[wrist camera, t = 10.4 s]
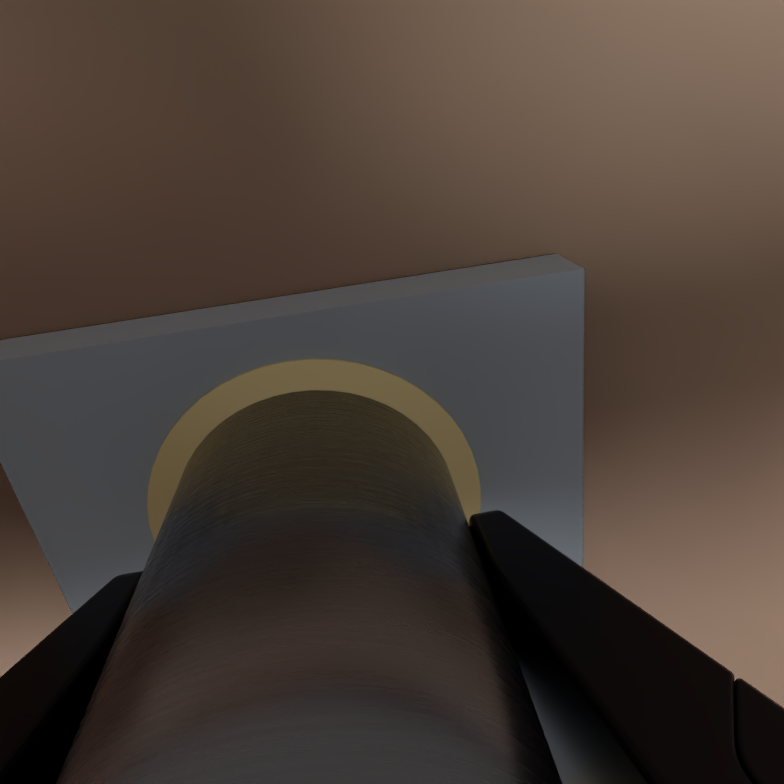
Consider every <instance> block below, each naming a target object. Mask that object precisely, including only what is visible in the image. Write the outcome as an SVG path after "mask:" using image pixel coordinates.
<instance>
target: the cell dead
mask: <svg viewBox="0 0 784 784" xmlns="http://www.w3.org/2000/svg"><path fill="white" fill-rule="evenodd" d="M56 784H562V781H561V778H560V775H559V773H558V770H557V767H556V764H555V762H554V759H553V756H552V753H551V751H550V748H549V745H548V742H547V740H546V737H545V734H544V731H543V729H542V726H541V723H540V720H539V718H538V715H537V712H536V709H535V706H534V704H533V701H532V698H531V695H530V693H529V690H528V687H527V684H526V682H525V679H524V676H523V673H522V671H521V668H520V665H519V662H518V660H517V657H516V654H515V651H514V648H513V646H512V643H511V640H510V637H509V635H508V632H507V629H506V626H505V624H504V621H503V618H502V615H501V613H500V610H499V607H498V604H497V602H496V599H495V596H494V593H493V591H492V588H491V585H490V582H489V579H488V577H487V574H486V571H485V568H484V566H483V563H482V560H481V557H480V555H479V552H478V549H477V546H476V544H475V541H474V538H473V535H472V533H471V530H470V527H469V524H468V521H467V519H466V516H465V513H464V510H463V508H462V505H461V502H460V499H459V497H458V494H457V491H456V488H455V486H454V483H453V480H452V477H451V475H450V472H449V469H448V466H447V464H446V462H445V460H444V458H443V456H442V454H441V452H440V450H439V449H438V448H437V446H436V445H435V444H434V442H433V441H432V440H431V438H430V437H429V436H428V435H427V434H426V433H425V432H424V431H423V430H422V429H421V428H420V427H419V426H418V425H417V424H416V423H414V422H413V421H412V420H410V419H409V418H408V417H406V416H405V415H404V414H402V413H400V412H399V411H397V410H395V409H393V408H391V407H390V406H388V405H386V404H383V403H381V402H378V401H376V400H373V399H371V398H367V397H364V396H360V395H356V394H352V393H346V392H339V391H330V390H309V391H299V392H290V393H286V394H282V395H277V396H273V397H270V398H267V399H264V400H261V401H258V402H256V403H253V404H251V405H249V406H247V407H245V408H243V409H241V410H239V411H237V412H236V413H234V414H233V415H231V416H230V417H228V418H227V419H225V420H224V421H222V422H221V423H220V424H219V425H218V426H217V427H215V428H214V429H213V430H212V431H211V432H210V433H209V434H208V435H207V436H206V437H205V438H204V439H203V441H202V442H201V443H200V444H199V445H198V447H197V448H196V449H195V451H194V453H193V454H192V456H191V458H190V459H189V461H188V463H187V465H186V467H185V470H184V472H183V475H182V477H181V480H180V482H179V484H178V487H177V489H176V492H175V494H174V497H173V499H172V501H171V504H170V506H169V509H168V511H167V514H166V516H165V519H164V521H163V523H162V526H161V528H160V531H159V533H158V536H157V538H156V540H155V543H154V545H153V548H152V550H151V553H150V555H149V558H148V560H147V562H146V565H145V567H144V570H143V572H142V575H141V577H140V579H139V582H138V584H137V587H136V589H135V592H134V594H133V597H132V599H131V601H130V604H129V606H128V609H127V611H126V614H125V616H124V618H123V621H122V623H121V626H120V628H119V631H118V633H117V635H116V638H115V640H114V643H113V645H112V648H111V650H110V653H109V655H108V657H107V660H106V662H105V665H104V667H103V670H102V672H101V674H100V677H99V679H98V682H97V684H96V687H95V689H94V692H93V694H92V696H91V699H90V701H89V704H88V706H87V709H86V711H85V713H84V716H83V718H82V721H81V723H80V726H79V728H78V731H77V733H76V735H75V738H74V740H73V743H72V745H71V748H70V750H69V752H68V755H67V757H66V760H65V762H64V765H63V767H62V770H61V772H60V774H59V777H58V779H57V782H56Z"/></svg>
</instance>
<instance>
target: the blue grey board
mask: <svg viewBox="0 0 784 784" xmlns="http://www.w3.org/2000/svg"><path fill="white" fill-rule="evenodd" d="M584 281H585V269H584V268H582V267H581V266H579V265H577V264H575V263H573V262H571V261H570V260H568V259H566V258H564V257H562V256H560V255H558V254H551V255H545V256H539V257H532V258H526V259H519V260H513V261H506V262H500V263H493V264H487V265H481V266H474V267H468V268H461V269H455V270H448V271H442V272H435V273H429V274H423V275H416V276H410V277H403V278H397V279H390V280H384V281H377V282H371V283H365V284H358V285H352V286H345V287H339V288H332V289H326V290H319V291H313V292H307V293H300V294H294V295H287V296H281V297H274V298H268V299H261V300H255V301H249V302H242V303H236V304H229V305H223V306H216V307H210V308H204V309H197V310H191V311H184V312H178V313H171V314H165V315H158V316H152V317H146V318H139V319H133V320H126V321H120V322H113V323H107V324H100V325H94V326H88V327H81V328H75V329H68V330H62V331H55V332H49V333H42V334H36V335H30V336H23V337H17V338H10V339H4V340H0V463H1V465H2V467H3V469H4V471H5V473H6V475H7V477H8V479H9V482H10V484H11V486H12V488H13V490H14V492H15V494H16V496H17V498H18V500H19V502H20V505H21V507H22V509H23V511H24V513H25V515H26V517H27V519H28V521H29V523H30V525H31V528H32V530H33V532H34V534H35V536H36V538H37V540H38V542H39V544H40V546H41V548H42V551H43V553H44V555H45V557H46V559H47V561H48V563H49V565H50V567H51V569H52V571H53V574H54V576H55V578H56V580H57V582H58V584H59V586H60V588H61V590H62V592H63V594H64V597H65V599H66V601H67V603H68V605H69V607H70V609H71V611H72V613H74V612H75V611H76V610H78V609H79V608H80V607H81V606H82V605H83V604H84V603H86V602H87V601H88V600H89V599H90V598H91V597H92V596H93V595H95V594H96V593H97V592H98V591H99V590H100V589H101V588H103V587H104V586H105V585H106V584H107V583H108V582H109V581H111V580H112V579H113V578H114V577H116V576H118V575H121V574H127V573H133V572H139V571H143V570H144V567H145V565H146V562H147V560H148V558H149V555H150V553H151V550H152V548H153V545H154V543H155V540H156V538H157V536H158V533H159V531H160V528H161V526H162V523H163V521H164V519H165V516H166V514H167V511H168V509H169V506H170V504H171V501H172V499H173V497H174V494H175V492H176V489H177V487H178V484H179V482H180V480H181V477H182V475H183V472H184V470H185V467H186V465H187V463H188V461H189V459H190V458H191V456H192V454H193V453H194V451H195V449H196V448H197V447H198V445H199V444H200V443H201V442H202V441H203V439H204V438H205V437H206V436H207V435H208V434H209V433H210V432H211V431H212V430H213V429H214V428H215V427H217V426H218V425H219V424H220V423H221V422H222V421H224V420H225V419H227V418H228V417H230V416H231V415H233V414H234V413H236V412H237V411H239V410H241V409H243V408H245V407H247V406H249V405H251V404H253V403H256V402H258V401H261V400H264V399H267V398H270V397H273V396H277V395H282V394H286V393H290V392H299V391H309V390H330V391H339V392H346V393H352V394H356V395H360V396H364V397H367V398H371V399H373V400H376V401H378V402H381V403H383V404H386V405H388V406H390V407H391V408H393V409H395V410H397V411H399V412H400V413H402V414H404V415H405V416H406V417H408V418H409V419H410V420H412V421H413V422H414V423H416V424H417V425H418V426H419V427H420V428H421V429H422V430H423V431H424V432H425V433H426V434H427V435H428V436H429V437H430V438H431V440H432V441H433V442H434V444H435V445H436V446H437V448H438V449H439V450H440V452H441V454H442V456H443V458H444V460H445V462H446V464H447V466H448V469H449V472H450V475H451V477H452V480H453V483H454V486H455V488H456V491H457V494H458V497H459V499H460V502H461V505H462V508H463V510H464V513H465V516H466V519H467V521H468V524H469V519H470V517H471V516H472V515H473V514H477V513H483V512H488V511H494V510H500V511H503V512H504V513H506V514H507V515H509V516H510V517H512V518H513V519H514V520H516V521H517V522H519V523H520V524H522V525H523V526H524V527H526V528H527V529H529V530H530V531H532V532H533V533H534V534H536V535H537V536H539V537H540V538H542V539H543V540H544V541H546V542H547V543H549V544H550V545H551V546H553V547H554V548H556V549H557V550H559V551H560V552H561V553H563V554H564V555H566V556H567V557H569V558H570V559H571V560H573V561H574V562H576V563H577V564H579V565H580V566H581V567H583V429H584Z"/></svg>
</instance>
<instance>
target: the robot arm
mask: <svg viewBox="0 0 784 784" xmlns="http://www.w3.org/2000/svg"><path fill="white" fill-rule="evenodd" d="M469 527H470V530H471V533H472V535H473V538H474V541H475V544H476V546H477V549H478V552H479V555H480V557H481V560H482V563H483V566H484V568H485V571H486V574H487V577H488V579H489V582H490V585H491V588H492V591H493V593H494V596H495V599H496V602H497V604H498V607H499V610H500V613H501V615H502V618H503V621H504V624H505V626H506V629H507V632H508V635H509V637H510V640H511V643H512V646H513V648H514V651H515V654H516V657H517V660H518V662H519V665H520V668H521V671H522V673H523V676H524V679H525V682H526V684H527V687H528V690H529V693H530V695H531V698H532V701H533V704H534V706H535V709H536V712H537V715H538V718H539V720H540V723H541V726H542V729H543V731H544V734H545V737H546V740H547V742H548V745H549V748H550V751H551V753H552V756H553V759H554V762H555V764H556V767H557V770H558V773H559V775H560V778H561V781H562V784H784V708H783V707H781V706H780V705H778V704H777V703H776V702H774V701H773V700H771V699H770V698H768V697H767V696H766V695H764V694H763V693H761V692H760V691H758V690H757V689H756V688H754V687H753V686H751V685H750V684H748V683H747V682H746V681H744V680H743V679H740V678H739V679H736V680H735V682H734V674H733V673H732V672H731V671H729V670H728V669H727V668H725V667H724V666H722V665H721V664H719V663H718V662H717V661H715V660H714V659H712V658H711V657H710V656H708V655H707V654H705V653H704V652H702V651H701V650H700V649H698V648H697V647H695V646H694V645H692V644H691V643H690V642H688V641H687V640H685V639H684V638H682V637H681V636H680V635H678V634H677V633H675V632H674V631H672V630H671V629H670V628H668V627H667V626H665V625H664V624H663V623H661V622H660V621H658V620H657V619H655V618H654V617H653V616H651V615H650V614H648V613H647V612H645V611H644V610H643V609H641V608H640V607H638V606H637V605H635V604H634V603H633V602H631V601H630V600H628V599H627V598H626V597H624V596H623V595H621V594H620V593H618V592H617V591H616V590H614V589H613V588H611V587H610V586H608V585H607V584H606V583H604V582H603V581H601V580H600V579H598V578H597V577H596V576H594V575H593V574H591V573H590V572H588V571H587V570H586V569H584V568H583V567H581V566H580V565H579V564H577V563H576V562H574V561H573V560H571V559H570V558H569V557H567V556H566V555H564V554H563V553H561V552H560V551H559V550H557V549H556V548H554V547H553V546H551V545H550V544H549V543H547V542H546V541H544V540H543V539H542V538H540V537H539V536H537V535H536V534H534V533H533V532H532V531H530V530H529V529H527V528H526V527H524V526H523V525H522V524H520V523H519V522H517V521H516V520H514V519H513V518H512V517H510V516H509V515H507V514H506V513H504V512H503V511H500V510H494V511H488V512H483V513H477V514H473V515H472V516H471V517H470V519H469ZM142 572H143V571H139V572H133V573H127V574H121V575H118V576H116V577H114V578H113V579H112V580H111V581H109V582H108V583H107V584H106V585H105V586H104V587H103V588H101V589H100V590H99V591H98V592H97V593H96V594H95V595H93V596H92V597H91V598H90V599H89V600H88V601H87V602H86V603H84V604H83V605H82V606H81V607H80V608H79V609H78V610H76V611H75V612H74V613H73V614H72V615H71V616H70V617H68V618H67V619H66V620H65V621H64V622H63V623H62V624H61V625H59V626H58V627H57V628H56V629H55V630H54V631H53V632H51V633H50V634H49V635H48V636H47V637H46V638H45V639H43V640H42V641H41V642H40V643H39V644H38V645H37V646H35V647H34V648H33V649H32V650H31V651H30V652H29V653H28V654H26V655H25V656H24V657H23V658H22V659H21V660H20V661H18V662H17V663H16V664H15V665H14V666H13V667H12V668H10V669H9V670H8V671H7V672H6V673H5V674H4V675H3V676H1V677H0V784H56V782H57V779H58V777H59V774H60V772H61V770H62V767H63V765H64V762H65V760H66V757H67V755H68V752H69V750H70V748H71V745H72V743H73V740H74V738H75V735H76V733H77V731H78V728H79V726H80V723H81V721H82V718H83V716H84V713H85V711H86V709H87V706H88V704H89V701H90V699H91V696H92V694H93V692H94V689H95V687H96V684H97V682H98V679H99V677H100V674H101V672H102V670H103V667H104V665H105V662H106V660H107V657H108V655H109V653H110V650H111V648H112V645H113V643H114V640H115V638H116V635H117V633H118V631H119V628H120V626H121V623H122V621H123V618H124V616H125V614H126V611H127V609H128V606H129V604H130V601H131V599H132V597H133V594H134V592H135V589H136V587H137V584H138V582H139V579H140V577H141V575H142Z"/></svg>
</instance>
